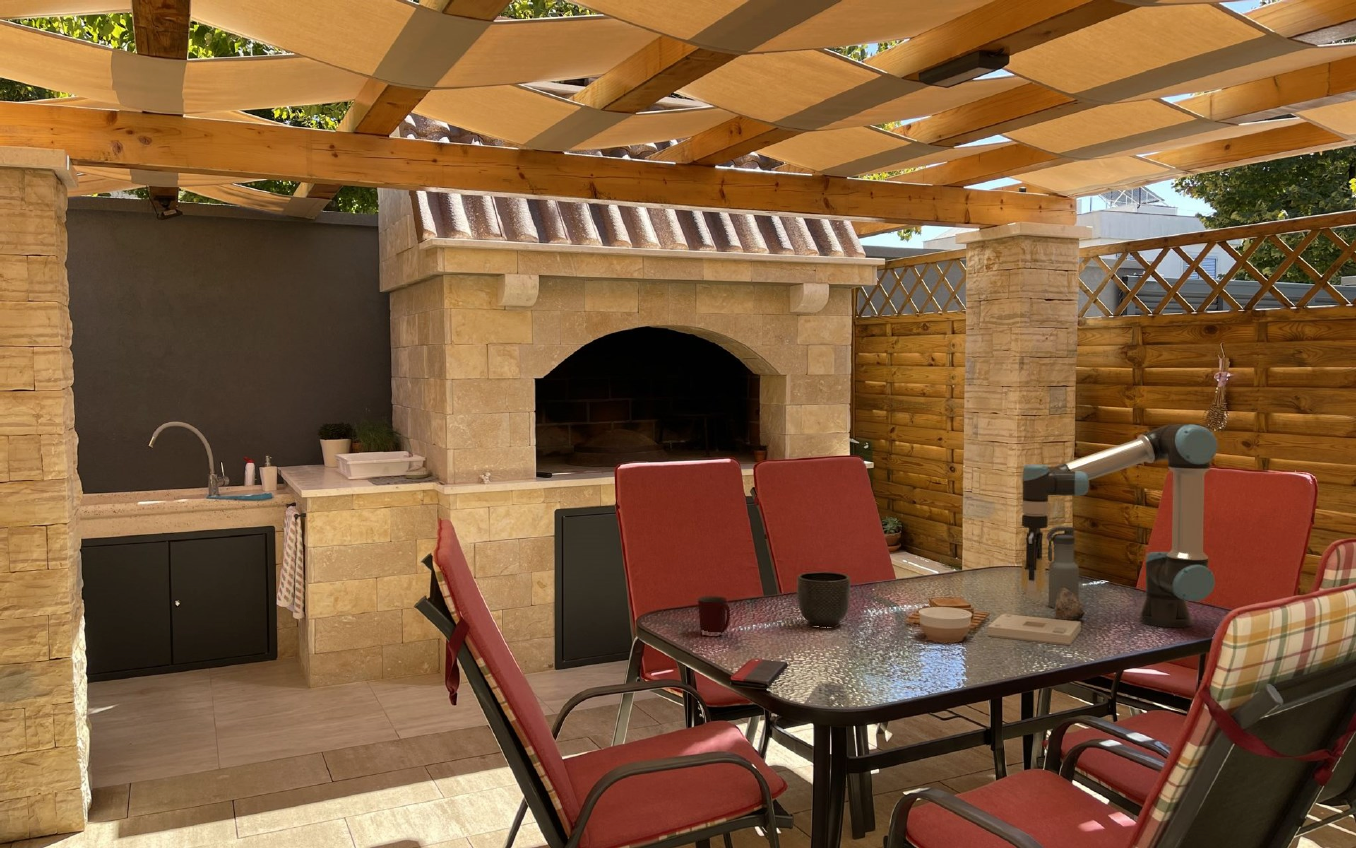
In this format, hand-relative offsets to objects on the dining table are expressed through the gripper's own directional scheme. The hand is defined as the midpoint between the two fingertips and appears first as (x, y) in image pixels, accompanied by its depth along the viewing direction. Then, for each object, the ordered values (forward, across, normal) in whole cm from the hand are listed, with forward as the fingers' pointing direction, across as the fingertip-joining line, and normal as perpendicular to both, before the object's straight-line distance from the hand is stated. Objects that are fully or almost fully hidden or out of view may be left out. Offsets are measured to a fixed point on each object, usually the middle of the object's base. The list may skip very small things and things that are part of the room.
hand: (1033, 589), depth 318 cm
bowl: (+15, +18, -23) cm, 32 cm away
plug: (+3, 0, 0) cm, 3 cm away
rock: (+14, -25, +5) cm, 29 cm away
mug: (+15, +48, -86) cm, 100 cm away
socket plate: (+14, 0, 0) cm, 14 cm away
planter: (+15, +20, -62) cm, 66 cm away
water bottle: (+14, -44, +1) cm, 46 cm away
